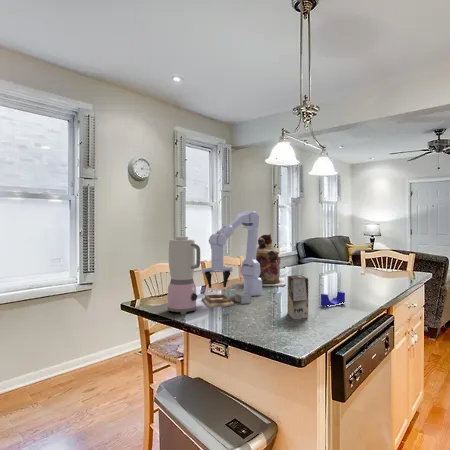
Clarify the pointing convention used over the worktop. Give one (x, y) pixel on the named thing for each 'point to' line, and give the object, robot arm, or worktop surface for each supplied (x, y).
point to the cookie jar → (268, 262)
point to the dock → (217, 300)
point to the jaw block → (243, 298)
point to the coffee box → (298, 296)
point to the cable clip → (336, 300)
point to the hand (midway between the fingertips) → (217, 287)
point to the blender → (182, 274)
